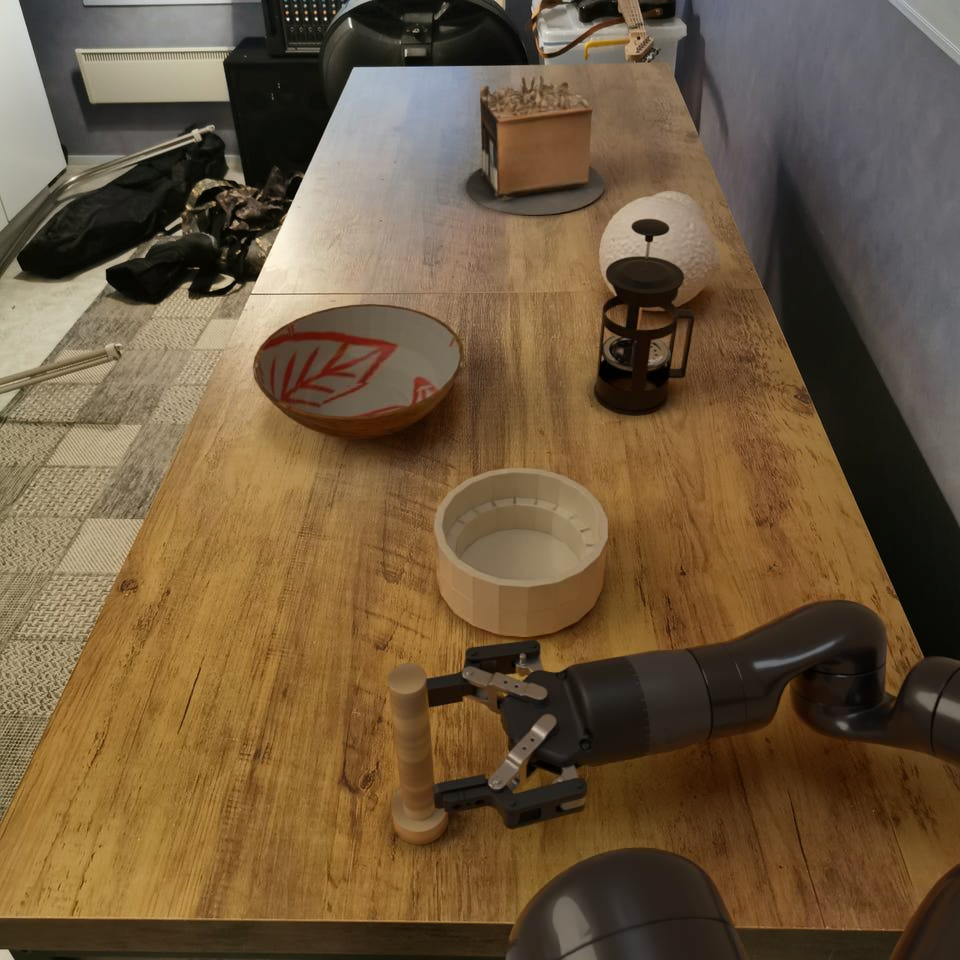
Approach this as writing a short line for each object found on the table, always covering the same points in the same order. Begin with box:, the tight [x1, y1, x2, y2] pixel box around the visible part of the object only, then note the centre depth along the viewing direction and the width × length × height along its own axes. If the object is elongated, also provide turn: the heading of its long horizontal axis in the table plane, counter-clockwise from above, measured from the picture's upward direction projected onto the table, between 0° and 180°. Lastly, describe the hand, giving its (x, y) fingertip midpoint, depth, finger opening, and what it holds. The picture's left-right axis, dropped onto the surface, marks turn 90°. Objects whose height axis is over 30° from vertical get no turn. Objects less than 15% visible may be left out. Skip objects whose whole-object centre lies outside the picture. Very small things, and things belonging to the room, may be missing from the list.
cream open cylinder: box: [433, 467, 609, 638], centre depth 91 cm, size 17×17×8 cm
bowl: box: [252, 303, 465, 440], centre depth 113 cm, size 25×25×8 cm
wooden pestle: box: [387, 662, 449, 846], centre depth 68 cm, size 4×4×18 cm
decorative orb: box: [598, 190, 721, 312], centre depth 131 cm, size 20×18×16 cm
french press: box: [593, 219, 695, 416], centre depth 110 cm, size 12×9×23 cm
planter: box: [465, 74, 605, 216], centre depth 162 cm, size 25×25×19 cm
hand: (423, 744), depth 67 cm, fingers open, 8 cm apart
